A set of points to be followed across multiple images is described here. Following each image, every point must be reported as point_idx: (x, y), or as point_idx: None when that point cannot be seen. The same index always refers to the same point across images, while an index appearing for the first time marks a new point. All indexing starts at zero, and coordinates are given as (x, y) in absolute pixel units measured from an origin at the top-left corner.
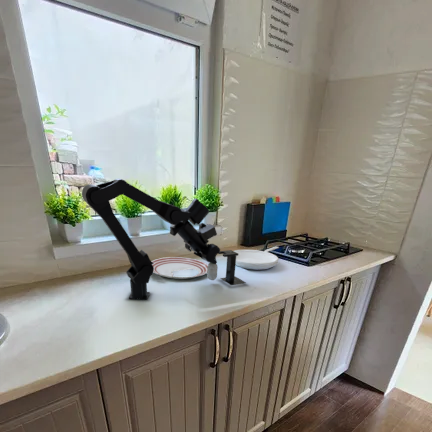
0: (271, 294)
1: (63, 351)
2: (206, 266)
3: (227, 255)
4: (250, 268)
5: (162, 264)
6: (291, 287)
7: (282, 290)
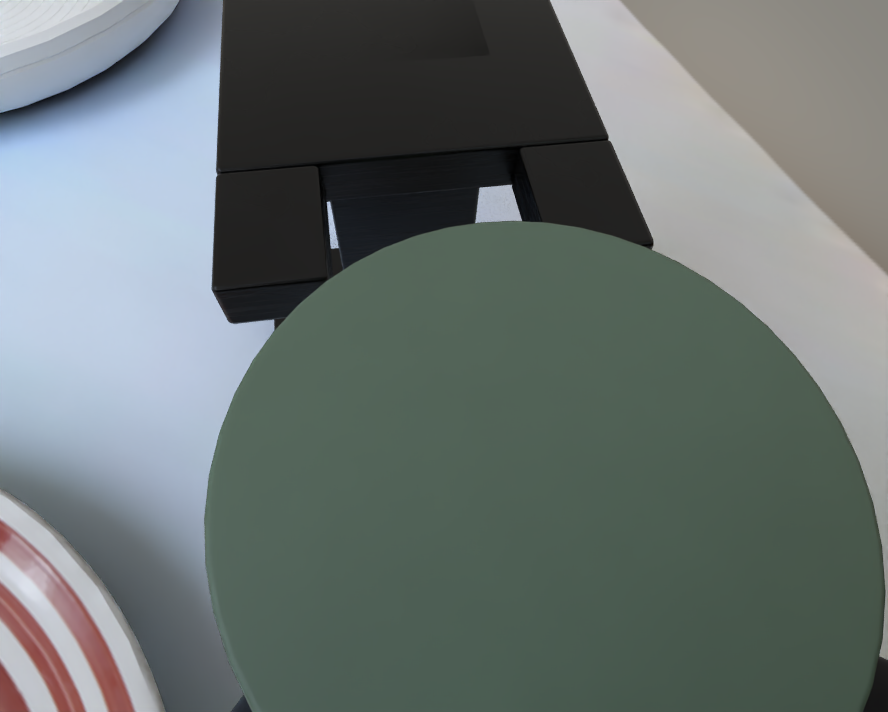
0: (741, 162)
1: None
2: None
3: (618, 186)
4: (124, 55)
5: None
6: (597, 5)
7: (654, 69)
